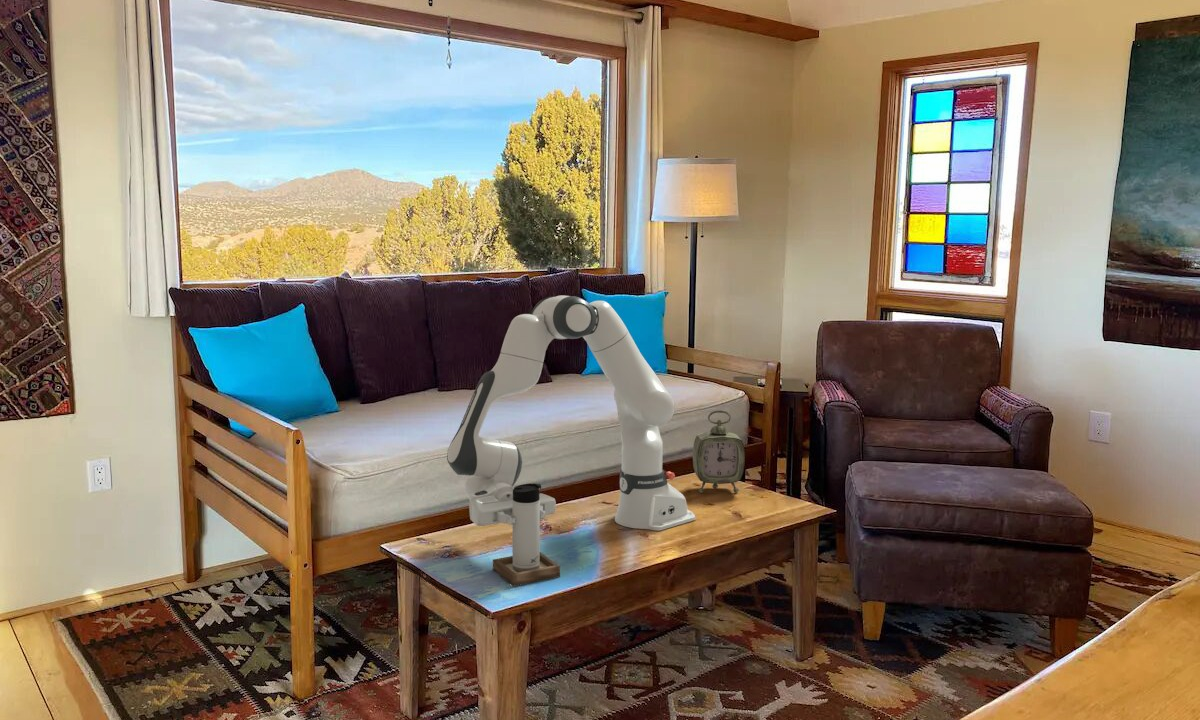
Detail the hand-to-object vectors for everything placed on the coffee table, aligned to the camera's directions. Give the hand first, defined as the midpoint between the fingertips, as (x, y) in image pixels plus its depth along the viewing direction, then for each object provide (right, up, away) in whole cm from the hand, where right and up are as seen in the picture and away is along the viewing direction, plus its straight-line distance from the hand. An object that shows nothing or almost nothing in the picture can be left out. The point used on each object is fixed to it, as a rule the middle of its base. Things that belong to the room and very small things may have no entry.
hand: (528, 518), depth 213 cm
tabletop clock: (+52, -4, +70) cm, 88 cm away
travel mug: (0, -12, +3) cm, 13 cm away
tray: (-1, -13, +3) cm, 14 cm away
